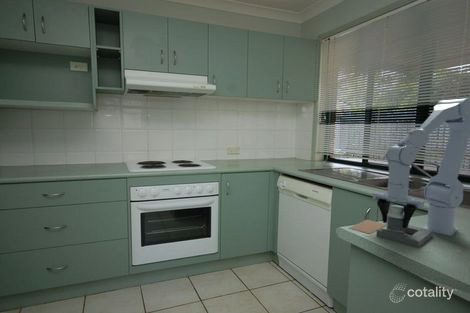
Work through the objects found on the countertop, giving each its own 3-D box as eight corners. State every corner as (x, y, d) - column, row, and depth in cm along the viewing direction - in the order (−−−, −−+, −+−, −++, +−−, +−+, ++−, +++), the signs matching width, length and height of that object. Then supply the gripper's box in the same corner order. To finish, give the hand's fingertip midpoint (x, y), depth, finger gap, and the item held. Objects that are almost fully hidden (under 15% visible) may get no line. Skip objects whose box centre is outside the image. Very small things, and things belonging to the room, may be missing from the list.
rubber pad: (367, 219, 107) (367, 219, 107) (387, 224, 102) (387, 224, 102) (348, 228, 98) (348, 227, 98) (369, 234, 92) (369, 233, 92)
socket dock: (392, 226, 100) (393, 221, 100) (432, 236, 91) (432, 230, 91) (376, 235, 91) (376, 230, 91) (418, 247, 82) (419, 241, 82)
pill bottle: (407, 237, 90) (409, 209, 89) (389, 235, 91) (391, 208, 90) (400, 231, 95) (402, 205, 94) (383, 230, 96) (385, 204, 95)
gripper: (369, 181, 94) (367, 221, 96) (420, 188, 84) (416, 233, 85) (378, 179, 99) (376, 217, 100) (427, 185, 88) (423, 228, 90)
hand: (395, 224), depth 93 cm, fingers open, 5 cm apart
